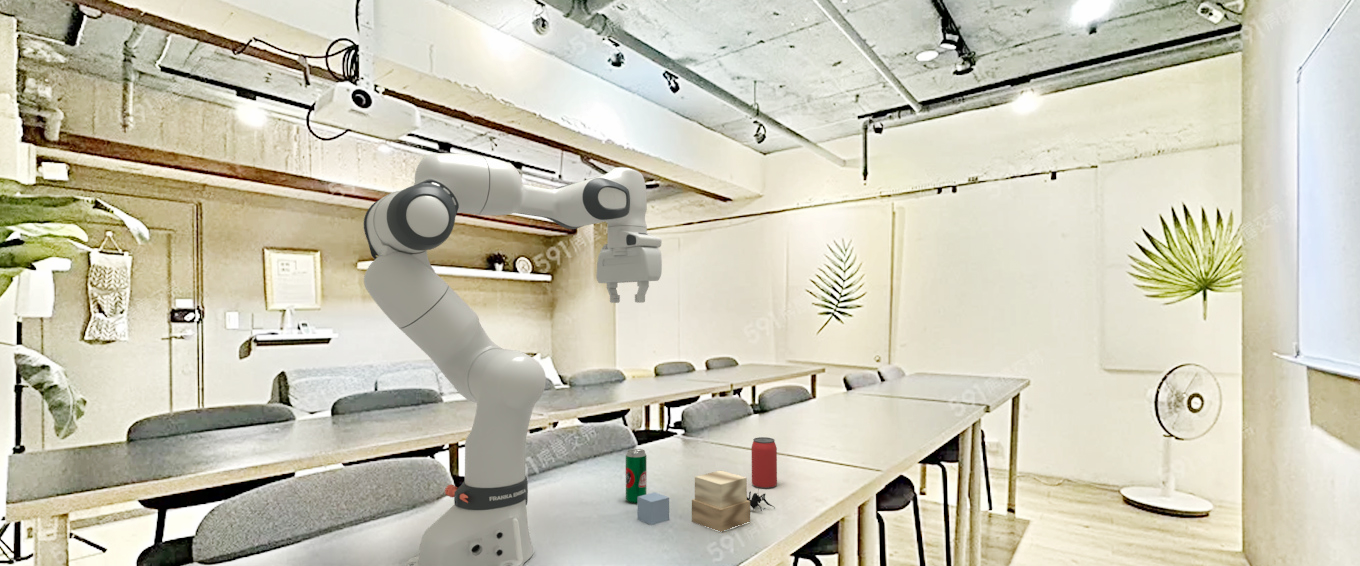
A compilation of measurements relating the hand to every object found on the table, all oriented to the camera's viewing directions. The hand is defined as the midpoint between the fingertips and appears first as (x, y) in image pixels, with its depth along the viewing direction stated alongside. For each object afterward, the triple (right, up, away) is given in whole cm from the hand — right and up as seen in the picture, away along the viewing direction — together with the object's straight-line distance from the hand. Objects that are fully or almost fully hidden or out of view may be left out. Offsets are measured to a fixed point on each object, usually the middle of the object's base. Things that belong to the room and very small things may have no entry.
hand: (627, 302), depth 138 cm
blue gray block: (+6, -48, -2) cm, 48 cm away
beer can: (+34, -49, +24) cm, 64 cm away
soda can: (+1, -49, +11) cm, 50 cm away
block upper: (+21, -43, -4) cm, 48 cm away
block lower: (+21, -48, -4) cm, 52 cm away
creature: (+30, -48, +6) cm, 57 cm away
